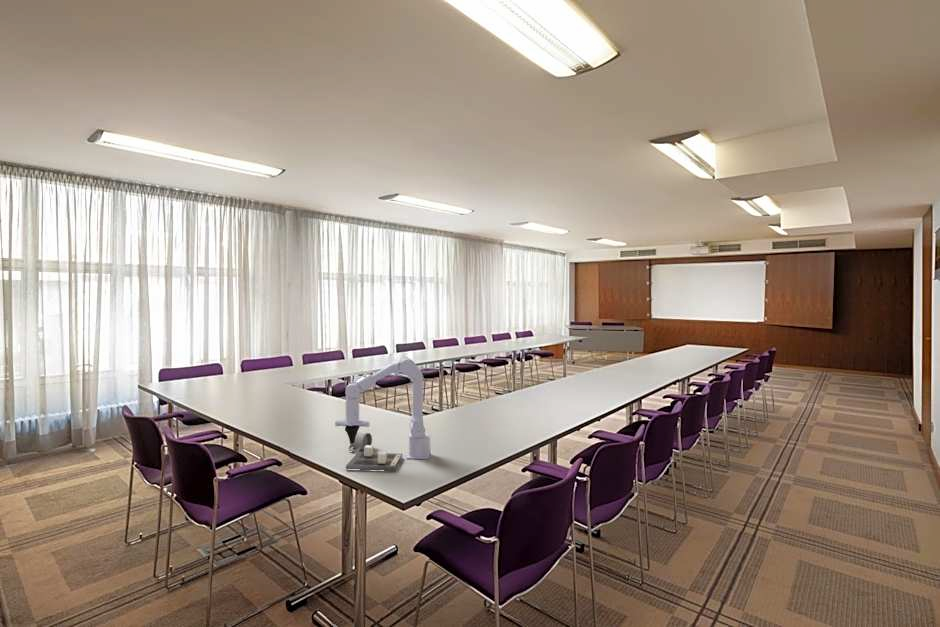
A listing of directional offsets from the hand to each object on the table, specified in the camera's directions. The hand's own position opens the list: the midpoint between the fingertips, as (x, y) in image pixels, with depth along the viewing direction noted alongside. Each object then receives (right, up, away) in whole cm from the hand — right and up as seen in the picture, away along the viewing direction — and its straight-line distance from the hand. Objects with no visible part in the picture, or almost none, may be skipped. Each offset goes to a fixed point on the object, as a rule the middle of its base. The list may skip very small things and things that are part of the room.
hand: (352, 442), depth 201 cm
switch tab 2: (+15, -6, -9) cm, 18 cm away
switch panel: (+11, -8, -4) cm, 14 cm away
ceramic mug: (0, -7, +15) cm, 16 cm away
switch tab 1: (+7, -6, 0) cm, 9 cm away
